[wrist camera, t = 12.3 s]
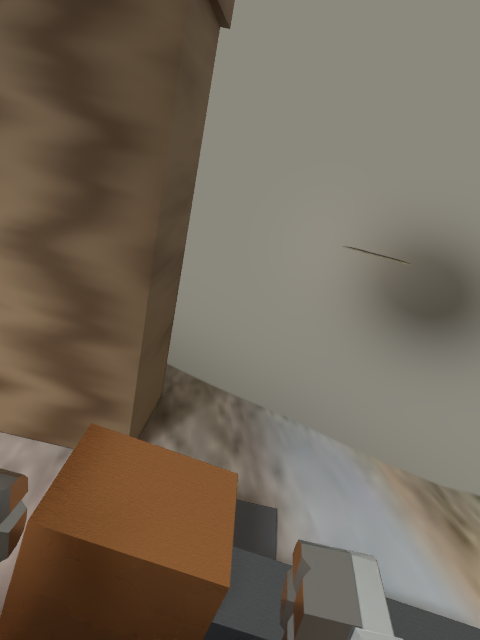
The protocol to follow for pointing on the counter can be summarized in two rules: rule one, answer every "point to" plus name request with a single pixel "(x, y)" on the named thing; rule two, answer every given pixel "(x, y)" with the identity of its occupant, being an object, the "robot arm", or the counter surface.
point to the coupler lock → (153, 556)
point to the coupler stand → (95, 203)
